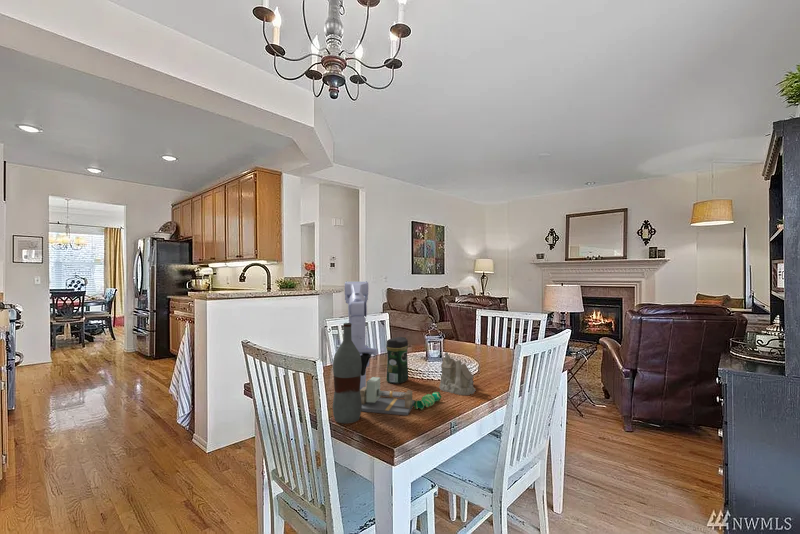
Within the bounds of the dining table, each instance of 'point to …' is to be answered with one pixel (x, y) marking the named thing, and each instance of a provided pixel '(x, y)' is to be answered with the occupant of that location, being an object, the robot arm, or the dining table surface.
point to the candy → (427, 400)
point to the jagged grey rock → (456, 377)
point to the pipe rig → (388, 402)
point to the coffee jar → (397, 360)
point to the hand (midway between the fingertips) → (357, 374)
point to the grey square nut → (373, 389)
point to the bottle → (347, 380)
